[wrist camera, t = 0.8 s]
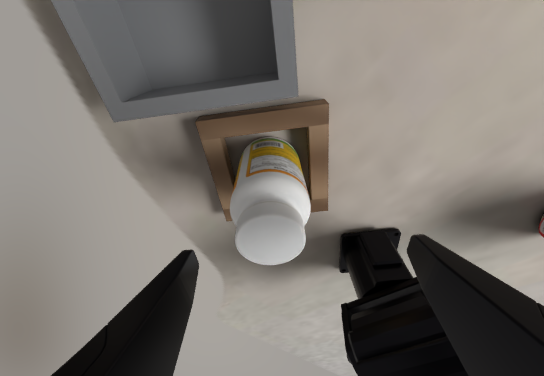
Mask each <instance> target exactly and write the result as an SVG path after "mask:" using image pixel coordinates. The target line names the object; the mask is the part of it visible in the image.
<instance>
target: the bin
mask: <svg viewBox="0 0 544 376" xmlns="http://www.w3.org/2000/svg"><path fill="white" fill-rule="evenodd" d="M51 2H52V3H53V5H54V7H55V9H56V11H57V13H58V15H59V17H60V19H61V21H62V23H63V25H64V27H65V29H66V31H67V33H68V34H69V36H70V38H71V40H72V42H73V44H74V46H75V48H76V50H77V52H78V54H79V56H80V58H81V60H82V62H83V63H84V65H85V67H86V69H87V71H88V73H89V75H90V77H91V79H92V81H93V83H94V85H95V87H96V89H97V91H98V93H99V94H100V96H101V98H102V100H103V102H104V104H105V106H106V108H107V110H108V112H109V114H110V116H111V118H112V120H113V122H119V121H127V120H134V119H141V118H148V117H155V116H163V115H170V114H177V113H184V112H191V111H198V110H206V109H213V108H220V107H227V106H234V105H242V104H249V103H256V102H263V101H270V100H277V99H285V98H292V97H298V82H297V66H296V50H295V34H294V17H293V1H292V0H51Z"/></svg>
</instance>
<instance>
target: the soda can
mask: <svg viewBox="0 0 544 376" xmlns="http://www.w3.org/2000/svg"><path fill="white" fill-rule="evenodd" d="M538 229H539V233H540V235H541V236H542V237H544V214H543V215H542V218H541V222H540V224H539V228H538Z"/></svg>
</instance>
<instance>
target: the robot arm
mask: <svg viewBox="0 0 544 376" xmlns="http://www.w3.org/2000/svg"><path fill="white" fill-rule="evenodd" d="M400 236H401V232H400V231H399V229H387V230H378V231H368V232H358V233H348V234H343V235H342V236H341V239H340V259H339V270H340V272H341V273H348V272H349V274H350V277H351V280H352V282H353V285H354V288H355V291H356V294H357V297H358V299H357V300H355V301H352V302H349V303H344V304H341V309H342V322H343V330H344V339H345V347H346V352H347V358H348V361H349V362H350V363H351V364H352V365H353V367H354V369H355V372H356V373H357V375H358V376H544V306H543V305H541V304H540V303H536V301H534V300H533V299H531V298H529V297H528V296H526V295H524V294H523V293H521V292H519V291H518V290H516V289H514V288H513V287H511V286H509V285H508V284H506V283H504V282H503V281H501V280H499V279H498V278H496V277H494V276H493V275H491V274H489V273H488V272H486V271H484V270H483V269H481V268H479V267H478V266H476V265H474V264H472V263H471V262H469V261H467V260H466V259H464V258H462V257H461V256H459V255H457V254H456V253H454V252H452V251H451V250H449V249H447V248H446V247H444V246H442V245H441V244H439V243H437V242H436V241H434V240H432V239H431V238H429V237H427V236H426V235H423V234H419V235H412V236H411V239H410V242H409V245H408V248H407V254H408V257H409V259H410V261H411V264H412V266H413V269H414V271H415V273H416V276H417V277H415V278H413V277H412V275H411V273H410V272H409V270H408V268H407V267H406V265H405V263H404V262H403V259H402V258H401V256H400V255H399V253H398V251H397V248H398V244H399V240H400ZM198 269H199V263H198V260H197V257H196V255H195V253H194V251H193V250H184V251H182V252H181V253H180V254H179V255H178V256H177V257H176V258H175V259H174V260H172V262H171V263H169V264H168V265H167V266H166V267H165V268H164V269H163V270H162V271H161V272H160V273H159V274H158V275H157V276H156V277H155V278H154V279H153V280H152V281H151V282H150V283H149V284H148V285H147V286H146V287H145V288H144V289H143V290H142V291H141V292H140V293H139V294H138V295H136V296H135V297H134V298H133V299H132V300H131V301H130V302H129V303H128V304H127V305H126V306H125V307H124V308H123V309H122V310H121V311H120V312H119V313H118V314H117V315H116V316H115V317H114V318H113V319H112V320H111V321H110V322H109V323H108V325H106V326H105V327H104V328H103V329H102V330H101V331H100V332H98V333H97V334H96V335H95V336H94V337H93V338H92V339H91V340H90V341H89V342H88V343H87V344H86V345H85V346H84V347H83V348H81V350H79V351H78V352H77V353H76V354H75V355H74V356H73V357H71V358H70V359H69V360H68V361H67V362H66V363H65V364H64V365H62V366H61V367H60V368H59V369H58V370H57V371H56V372H55V373H53V374H52V375H51V376H173V373H174V370H175V366H176V362H177V359H178V355H179V352H180V348H181V344H182V341H183V337H184V333H185V330H186V326H187V322H188V319H189V315H190V312H191V308H192V304H193V299H194V293H195V287H196V281H197V275H198Z"/></svg>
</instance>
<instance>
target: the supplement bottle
mask: <svg viewBox="0 0 544 376" xmlns="http://www.w3.org/2000/svg"><path fill="white" fill-rule="evenodd" d="M310 211H311V205H310V199H309V195H308V191H307V187H306V184H305V180H304V176H303V173H302V169H301V165H300V161H299V158H298V155H297V153H296V151H295V149H294V148H293V147H292V146H291V145H290V144H289V143H288V142H286V141H284V140H282V139H279V138H275V137H263V138H259V139H257V140H255V141H253V142H251V143H250V144H249V145H248V146H247V147H246V148H245V150H244V151H243V153H242V155H241V158H240V162H239V167H238V171H237V175H236V180H235V183H234V188H233V191H232V196H231V201H230V214H231V218H232V220H233V222H234V224H235V226H236V233H235V245H236V248H237V250H238V251H239V253H240V254H241V255H242V256H243V257H245V258H246V259H247V260H249V261H251V262H254V263H257V264H262V265H277V264H282V263H285V262H288V261H290V260H292V259H294V258H295V257H296V256H298V255H299V254H300V252H301V251H302V250H303V248H304V246H305V242H306V235H305V229H304V226H305V224H306V223H307V221H308V219H309V216H310Z"/></svg>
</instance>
